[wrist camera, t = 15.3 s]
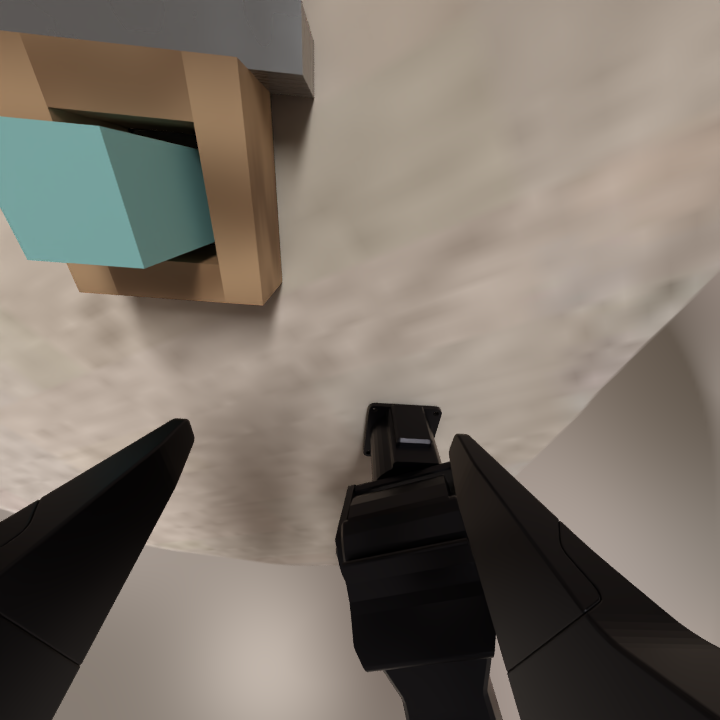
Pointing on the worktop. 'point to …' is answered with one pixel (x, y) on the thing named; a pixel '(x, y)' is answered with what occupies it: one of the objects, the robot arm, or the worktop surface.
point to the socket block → (171, 114)
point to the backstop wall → (186, 31)
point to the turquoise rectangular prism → (100, 194)
